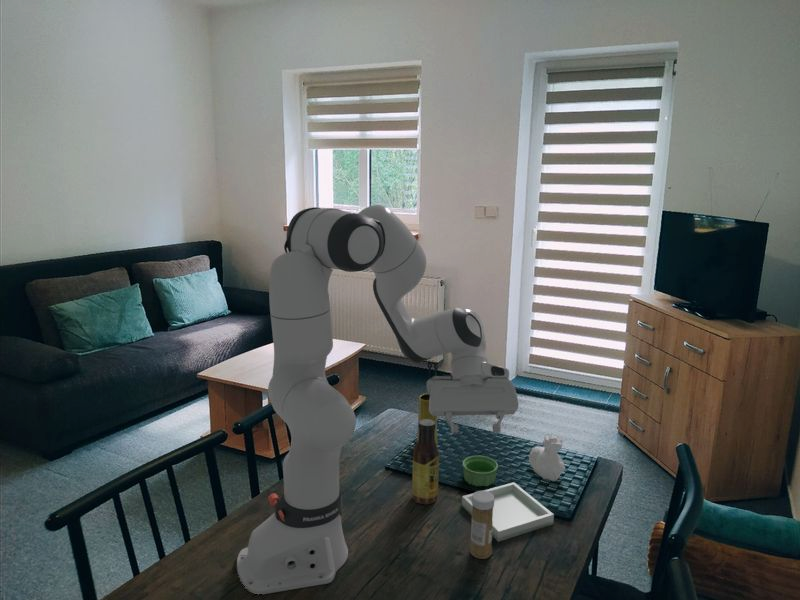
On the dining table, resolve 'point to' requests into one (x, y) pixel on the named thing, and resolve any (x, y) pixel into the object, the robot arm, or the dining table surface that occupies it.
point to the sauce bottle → (425, 464)
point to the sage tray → (513, 511)
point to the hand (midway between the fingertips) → (475, 433)
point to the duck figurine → (547, 458)
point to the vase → (426, 413)
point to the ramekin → (480, 470)
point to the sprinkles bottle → (481, 524)
